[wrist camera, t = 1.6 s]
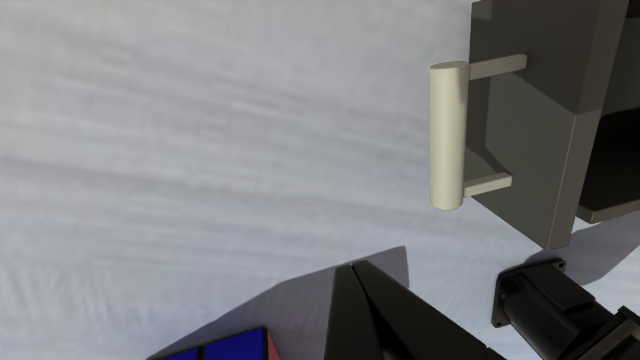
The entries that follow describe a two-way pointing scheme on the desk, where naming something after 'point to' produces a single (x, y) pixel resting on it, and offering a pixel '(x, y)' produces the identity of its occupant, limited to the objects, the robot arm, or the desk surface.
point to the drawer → (541, 115)
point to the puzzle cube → (234, 348)
